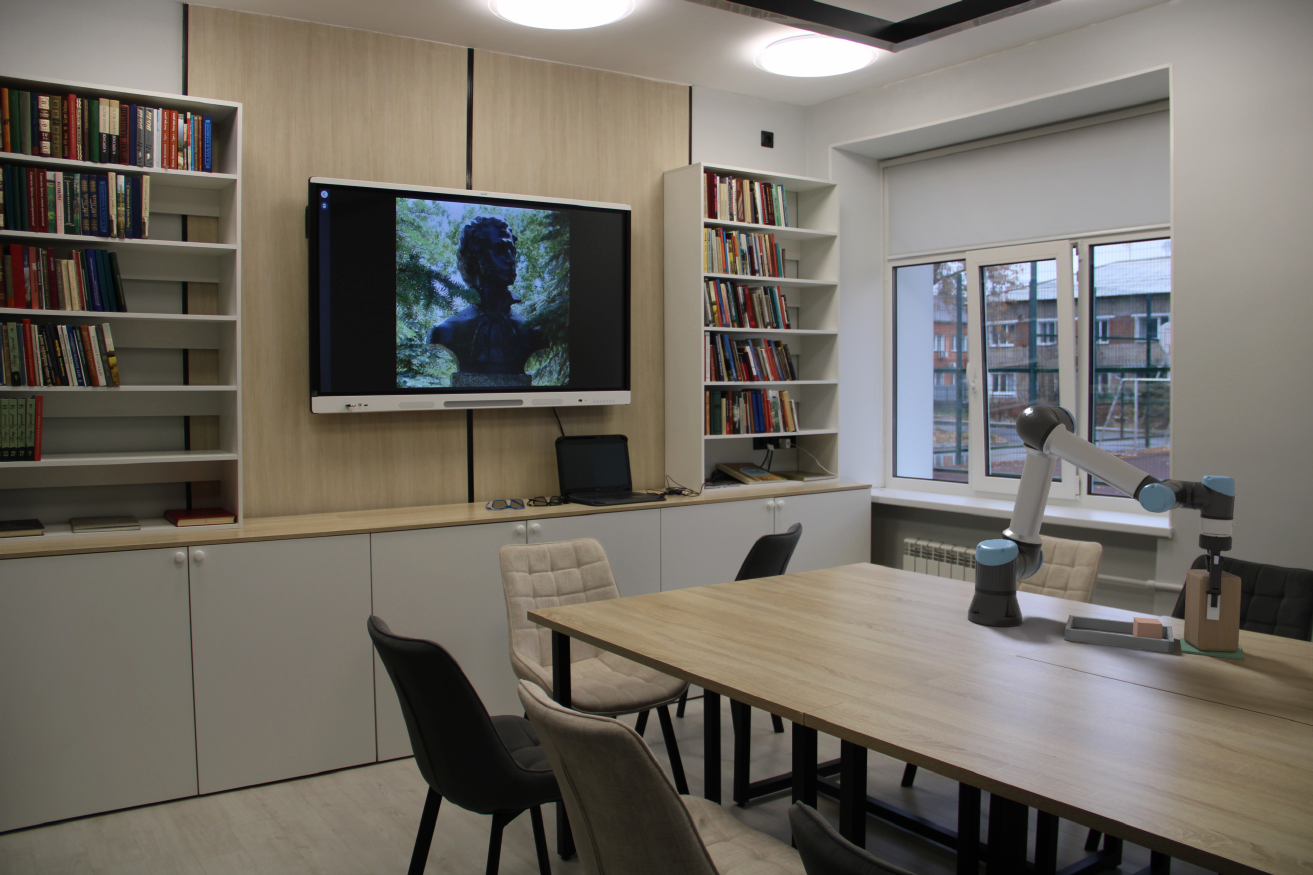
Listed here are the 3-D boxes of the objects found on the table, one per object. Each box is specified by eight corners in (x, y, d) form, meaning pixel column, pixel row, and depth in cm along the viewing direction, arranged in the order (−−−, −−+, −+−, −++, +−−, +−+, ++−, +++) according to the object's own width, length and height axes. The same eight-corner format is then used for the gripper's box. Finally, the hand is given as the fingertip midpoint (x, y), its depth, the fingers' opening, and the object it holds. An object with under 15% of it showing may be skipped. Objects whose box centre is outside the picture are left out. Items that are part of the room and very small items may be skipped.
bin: (1064, 639, 257) (1064, 629, 257) (1068, 625, 273) (1069, 615, 273) (1173, 653, 245) (1174, 641, 245) (1171, 637, 261) (1172, 626, 261)
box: (1136, 644, 254) (1137, 622, 253) (1132, 638, 259) (1133, 617, 259) (1161, 646, 252) (1162, 624, 251) (1157, 640, 258) (1157, 618, 257)
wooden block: (1221, 642, 253) (1224, 569, 252) (1239, 653, 243) (1243, 576, 242) (1182, 641, 254) (1185, 568, 253) (1199, 651, 244) (1202, 575, 243)
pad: (1181, 652, 246) (1181, 650, 246) (1179, 639, 258) (1179, 637, 258) (1244, 659, 239) (1244, 657, 239) (1239, 646, 252) (1239, 644, 252)
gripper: (1236, 542, 234) (1231, 626, 236) (1228, 529, 256) (1223, 605, 258) (1202, 539, 238) (1197, 622, 239) (1196, 526, 260) (1192, 602, 261)
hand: (1210, 613), depth 248 cm, fingers open, 13 cm apart
